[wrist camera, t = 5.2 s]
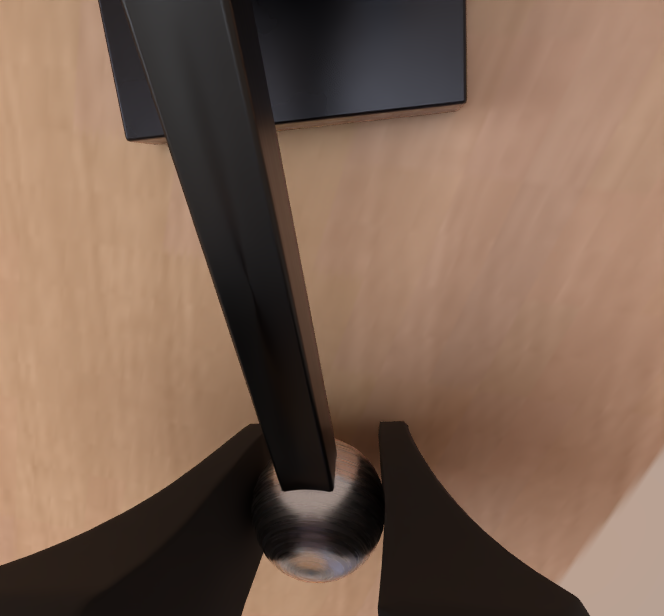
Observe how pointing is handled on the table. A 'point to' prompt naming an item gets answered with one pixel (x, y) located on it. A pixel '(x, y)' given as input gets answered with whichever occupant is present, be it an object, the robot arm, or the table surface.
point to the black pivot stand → (326, 62)
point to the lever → (258, 278)
